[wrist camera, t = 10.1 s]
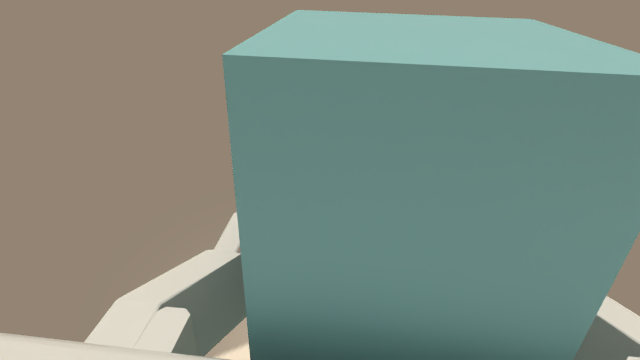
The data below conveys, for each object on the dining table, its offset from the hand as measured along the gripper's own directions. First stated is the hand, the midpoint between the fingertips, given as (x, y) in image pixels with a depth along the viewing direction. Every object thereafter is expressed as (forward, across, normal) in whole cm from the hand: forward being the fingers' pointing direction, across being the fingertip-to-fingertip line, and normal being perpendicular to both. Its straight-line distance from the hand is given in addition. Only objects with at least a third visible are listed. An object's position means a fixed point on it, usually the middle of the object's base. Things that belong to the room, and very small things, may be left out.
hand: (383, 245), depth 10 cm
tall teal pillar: (-2, 0, +7) cm, 7 cm away
